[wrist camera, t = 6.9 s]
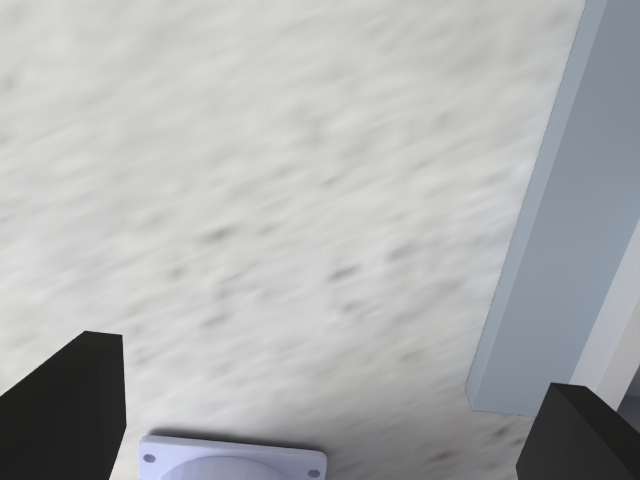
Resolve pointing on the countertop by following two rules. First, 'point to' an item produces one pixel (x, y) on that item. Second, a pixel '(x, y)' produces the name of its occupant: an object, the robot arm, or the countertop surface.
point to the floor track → (575, 239)
